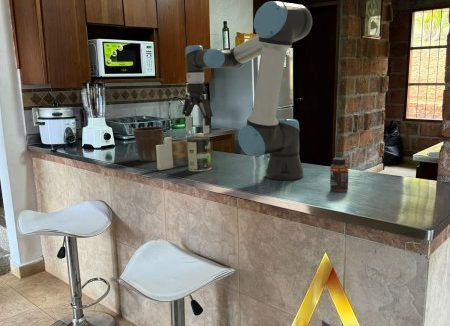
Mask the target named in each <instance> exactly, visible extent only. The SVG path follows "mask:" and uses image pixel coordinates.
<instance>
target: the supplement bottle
mask: <svg viewBox="0 0 450 326" xmlns="http://www.w3.org/2000/svg"><path fill="white" fill-rule="evenodd" d="M332 160H333V163H332V164H330V173H329V175H330V179H329V181H330V182H329V183H330V185H329V186H330V187H329V189H330V191H332V192H334V193H346V192H347V191H349V166H348V164H347V163H346V158H345V157H333V158H332Z"/></svg>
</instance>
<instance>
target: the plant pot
mask: <svg viewBox="0 0 450 326" xmlns="http://www.w3.org/2000/svg"><path fill="white" fill-rule="evenodd" d="M131 131H132V132H133V136H134V137H133V138H134V139H135V144H136V149H137V154H138V161H139V162H148V163H149V162H157V154H156V145H163V144H164V136H165V127H163V126H145V127H137V128H133V129H132V130H131Z"/></svg>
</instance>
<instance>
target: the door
mask: <svg viewBox="0 0 450 326" xmlns="http://www.w3.org/2000/svg"><path fill="white" fill-rule="evenodd" d="M172 157H173V167H177V166H183V165H188V149H187V139H186V140H180V141H172Z"/></svg>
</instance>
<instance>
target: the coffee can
mask: <svg viewBox="0 0 450 326" xmlns="http://www.w3.org/2000/svg"><path fill="white" fill-rule="evenodd" d="M186 140H187V149H188V164H187V165H188V171H189V172H207V171H210V170H212V160H211V141H210V140H211V137H209V136H204V137H197V136H193V137H192V136H191V137H187V138H186Z"/></svg>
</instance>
